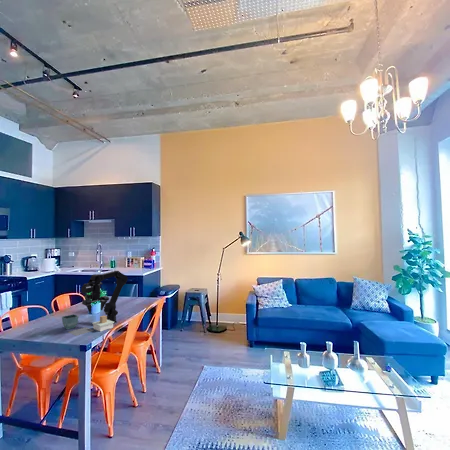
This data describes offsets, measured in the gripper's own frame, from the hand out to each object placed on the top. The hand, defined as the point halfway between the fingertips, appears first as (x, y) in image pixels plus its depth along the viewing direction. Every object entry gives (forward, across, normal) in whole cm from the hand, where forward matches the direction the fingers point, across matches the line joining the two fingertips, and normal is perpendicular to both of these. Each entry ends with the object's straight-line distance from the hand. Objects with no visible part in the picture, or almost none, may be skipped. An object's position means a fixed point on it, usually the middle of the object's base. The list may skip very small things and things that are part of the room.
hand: (95, 311), depth 208 cm
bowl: (+12, -2, +7) cm, 14 cm away
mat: (+12, +11, -1) cm, 16 cm away
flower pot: (+12, +11, -16) cm, 23 cm away
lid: (+8, -2, +7) cm, 11 cm away
